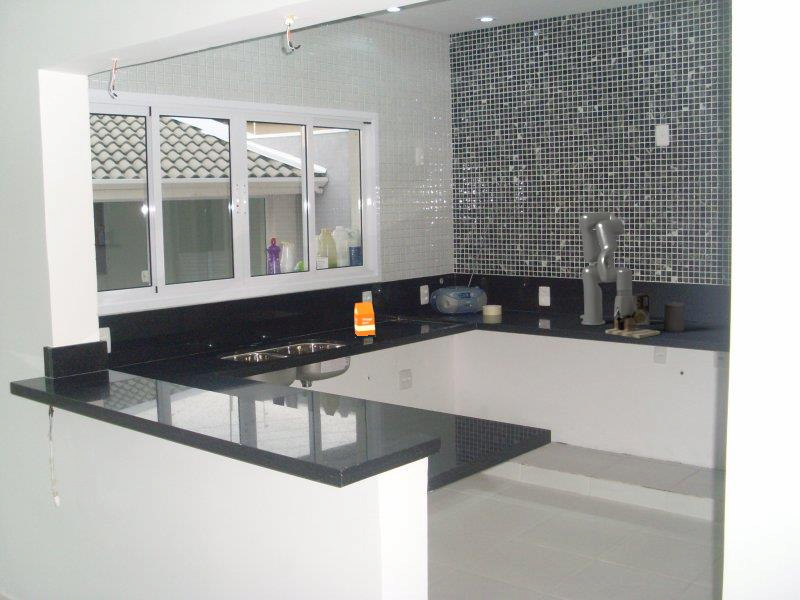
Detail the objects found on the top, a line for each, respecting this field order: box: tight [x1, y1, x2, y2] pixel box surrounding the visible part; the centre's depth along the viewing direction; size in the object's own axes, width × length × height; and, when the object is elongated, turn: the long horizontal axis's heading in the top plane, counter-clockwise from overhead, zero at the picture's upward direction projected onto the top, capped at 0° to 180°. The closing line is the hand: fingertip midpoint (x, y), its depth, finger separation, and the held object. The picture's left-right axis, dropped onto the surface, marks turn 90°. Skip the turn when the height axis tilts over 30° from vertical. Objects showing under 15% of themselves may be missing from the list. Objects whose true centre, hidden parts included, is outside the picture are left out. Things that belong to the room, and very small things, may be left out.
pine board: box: [604, 327, 661, 339], centre depth 437 cm, size 22×15×2 cm
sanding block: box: [613, 316, 636, 331], centre depth 440 cm, size 9×5×6 cm, turn 34°
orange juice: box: [353, 301, 376, 336], centre depth 451 cm, size 8×9×20 cm
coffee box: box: [632, 292, 650, 326], centre depth 462 cm, size 9×6×16 cm
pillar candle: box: [663, 301, 685, 333], centre depth 440 cm, size 10×10×15 cm
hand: (624, 328), depth 441 cm, fingers closed on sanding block, 5 cm apart
